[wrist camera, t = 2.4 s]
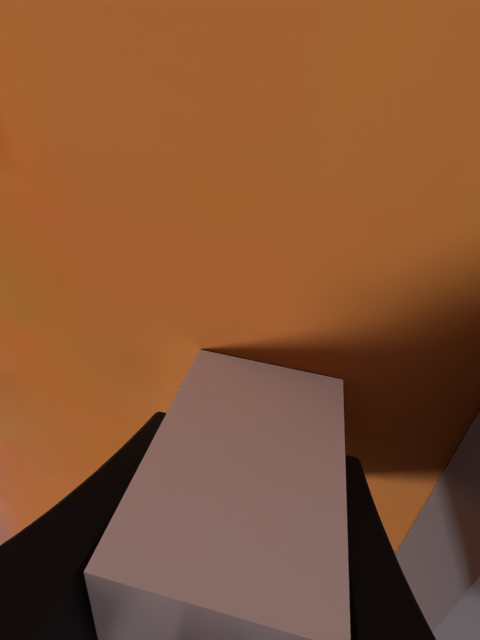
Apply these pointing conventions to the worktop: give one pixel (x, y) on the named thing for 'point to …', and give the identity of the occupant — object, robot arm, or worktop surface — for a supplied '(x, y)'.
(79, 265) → the worktop surface
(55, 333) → the worktop surface
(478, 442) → the power strip
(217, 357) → the charger block
